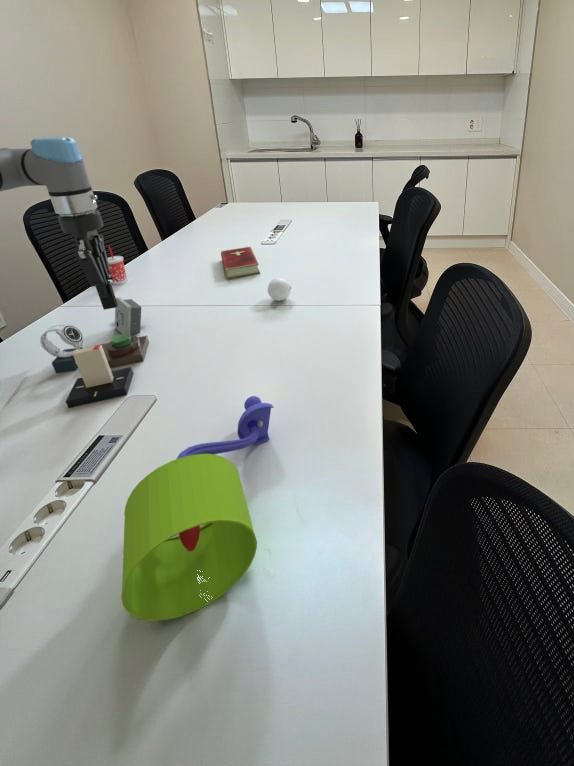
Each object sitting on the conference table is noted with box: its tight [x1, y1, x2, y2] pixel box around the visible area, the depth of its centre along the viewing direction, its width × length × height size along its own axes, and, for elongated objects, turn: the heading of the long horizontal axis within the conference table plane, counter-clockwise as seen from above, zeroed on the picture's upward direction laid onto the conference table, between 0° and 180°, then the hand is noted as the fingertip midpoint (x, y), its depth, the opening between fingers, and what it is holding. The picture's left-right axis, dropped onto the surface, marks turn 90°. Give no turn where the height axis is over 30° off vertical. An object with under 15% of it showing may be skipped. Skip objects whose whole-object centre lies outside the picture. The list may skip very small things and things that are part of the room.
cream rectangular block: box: [73, 344, 114, 388], centre depth 85 cm, size 5×2×9 cm, turn 110°
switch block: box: [94, 334, 150, 369], centre depth 98 cm, size 12×9×4 cm
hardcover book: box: [220, 246, 261, 280], centre depth 151 cm, size 12×21×4 cm, turn 24°
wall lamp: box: [120, 395, 275, 622], centre depth 60 cm, size 15×23×30 cm
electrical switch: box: [114, 296, 142, 335], centre depth 109 cm, size 9×5×9 cm, turn 49°
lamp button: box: [111, 333, 132, 348], centre depth 98 cm, size 4×4×2 cm
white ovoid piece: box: [267, 277, 292, 302], centre depth 125 cm, size 10×7×7 cm
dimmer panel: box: [65, 366, 134, 409], centre depth 87 cm, size 11×9×2 cm
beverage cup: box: [107, 245, 128, 285], centre depth 139 cm, size 6×6×14 cm
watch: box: [39, 324, 84, 374], centre depth 94 cm, size 6×8×11 cm
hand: (110, 307), depth 94 cm, fingers closed
